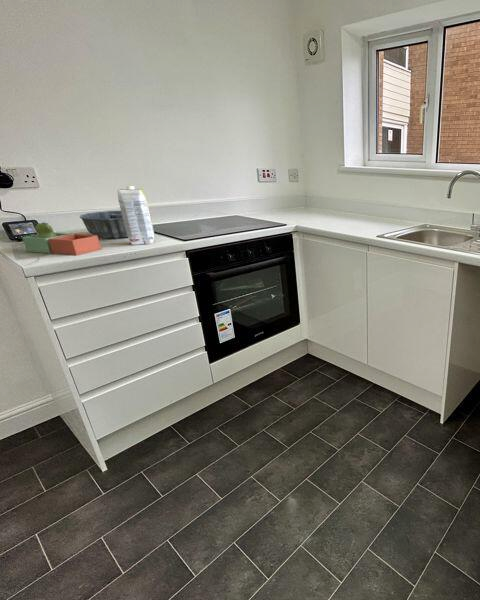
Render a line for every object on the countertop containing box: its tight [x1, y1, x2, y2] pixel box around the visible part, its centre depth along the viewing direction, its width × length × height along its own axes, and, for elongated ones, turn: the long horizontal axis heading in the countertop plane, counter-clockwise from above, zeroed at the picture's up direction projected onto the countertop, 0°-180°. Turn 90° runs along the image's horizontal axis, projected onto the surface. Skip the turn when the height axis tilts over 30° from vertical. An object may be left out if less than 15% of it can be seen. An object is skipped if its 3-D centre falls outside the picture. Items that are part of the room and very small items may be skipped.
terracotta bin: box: [49, 233, 102, 256], centre depth 137 cm, size 10×10×6 cm
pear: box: [34, 221, 57, 238], centre depth 137 cm, size 6×5×10 cm
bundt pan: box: [79, 210, 128, 239], centre depth 166 cm, size 26×26×10 cm
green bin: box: [21, 232, 73, 254], centre depth 139 cm, size 10×10×6 cm
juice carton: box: [117, 185, 155, 246], centre depth 150 cm, size 9×8×24 cm
